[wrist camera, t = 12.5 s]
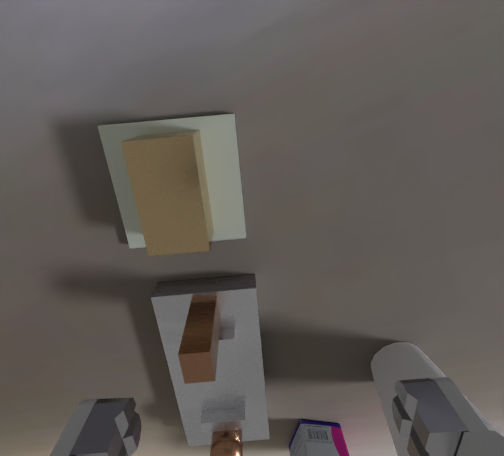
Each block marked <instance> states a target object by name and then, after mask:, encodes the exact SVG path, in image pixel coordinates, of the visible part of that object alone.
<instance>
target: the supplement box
mask: <svg viewBox="0 0 504 456" xmlns="http://www.w3.org/2000/svg"><path fill="white" fill-rule="evenodd" d="M289 450H290V456H349V453H348V450H347V446H346V443H345V440H344V436H343V433H342V430H341V426H340V424H338V423H328V422H319V421H310V420H302V419H300V420H299V422H298V425H297V428H296V430H295V432H294V435H293V437H292V439H291V442H290V444H289Z"/></svg>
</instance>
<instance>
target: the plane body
mask: <svg viewBox="0 0 504 456" xmlns="http://www.w3.org/2000/svg"><path fill="white" fill-rule="evenodd" d="M151 300H152V304H153V308H154V312H155V316H156V320H157V324H158V328H159V332H160V336H161V339H162V343H163V347H164V351H165V355H166V359H167V363H168V367H169V371H170V375H171V379H172V383H173V387H174V391H175V395H176V399H177V403H178V407H179V411H180V415H181V419H182V423H183V426H184V430H185V434H186V438H187V442H188V446H199V445H210V444H211V453H210V456H242V442H243V441H254V440H265V439H270V436H269V424H268V413H267V402H266V391H265V380H264V369H263V358H262V347H261V336H260V325H259V314H258V303H257V292H256V281H255V274H251V275H240V276H229V277H218V278H207V279H196V280H184V281H173V282H162V283H157V285H156V287H155V289H154V292H153V294H152V296H151Z"/></svg>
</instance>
